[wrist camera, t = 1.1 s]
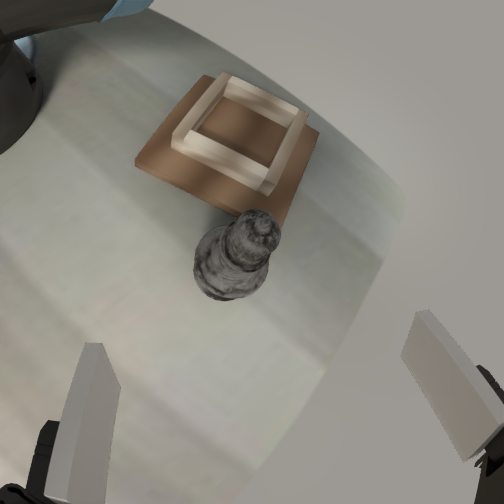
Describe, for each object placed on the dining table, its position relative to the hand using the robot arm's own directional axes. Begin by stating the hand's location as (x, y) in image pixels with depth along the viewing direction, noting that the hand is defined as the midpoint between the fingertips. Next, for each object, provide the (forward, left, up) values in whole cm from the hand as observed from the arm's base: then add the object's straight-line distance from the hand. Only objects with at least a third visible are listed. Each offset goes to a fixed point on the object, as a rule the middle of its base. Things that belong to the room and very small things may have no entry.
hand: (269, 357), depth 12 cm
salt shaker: (-2, +7, -15) cm, 17 cm away
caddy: (-6, +19, -15) cm, 25 cm away
